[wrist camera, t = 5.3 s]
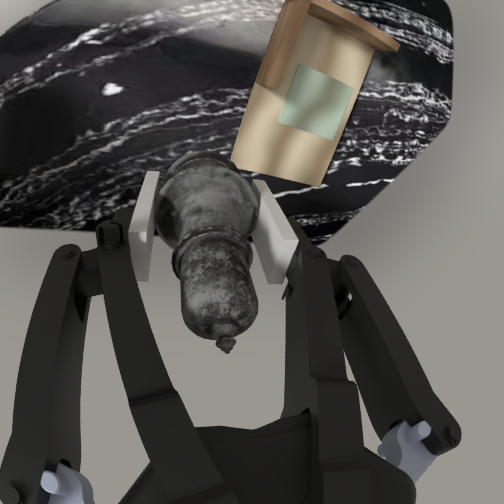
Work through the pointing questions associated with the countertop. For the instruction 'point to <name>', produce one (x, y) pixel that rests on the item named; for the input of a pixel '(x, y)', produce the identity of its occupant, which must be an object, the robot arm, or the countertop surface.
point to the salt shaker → (210, 243)
